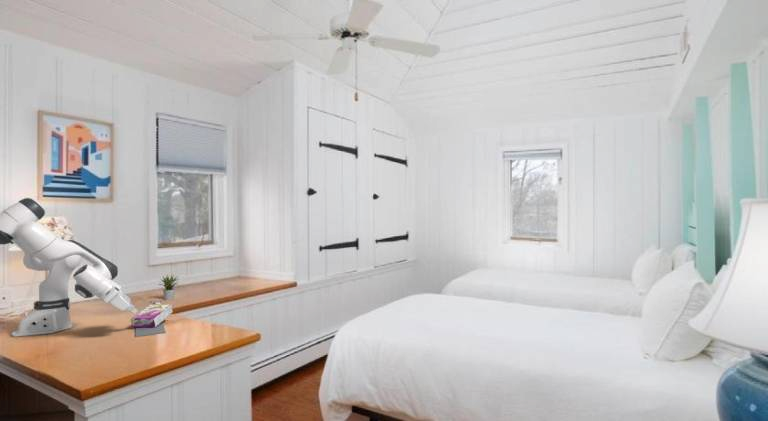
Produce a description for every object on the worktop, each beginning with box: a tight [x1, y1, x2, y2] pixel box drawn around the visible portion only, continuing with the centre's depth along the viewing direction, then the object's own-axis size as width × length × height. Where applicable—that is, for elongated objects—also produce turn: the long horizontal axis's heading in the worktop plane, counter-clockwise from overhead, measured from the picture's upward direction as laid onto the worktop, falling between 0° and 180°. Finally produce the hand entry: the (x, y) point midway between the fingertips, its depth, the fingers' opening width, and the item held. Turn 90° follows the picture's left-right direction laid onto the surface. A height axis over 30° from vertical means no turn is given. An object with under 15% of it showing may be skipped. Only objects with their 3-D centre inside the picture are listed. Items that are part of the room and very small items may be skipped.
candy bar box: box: [130, 303, 173, 329], centre depth 208 cm, size 11×5×16 cm
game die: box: [149, 300, 162, 305], centre depth 227 cm, size 9×8×10 cm
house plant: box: [158, 274, 180, 301], centre depth 276 cm, size 14×14×16 cm
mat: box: [135, 321, 166, 338], centre depth 200 cm, size 12×24×1 cm, turn 30°
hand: (136, 311), depth 197 cm, fingers closed
